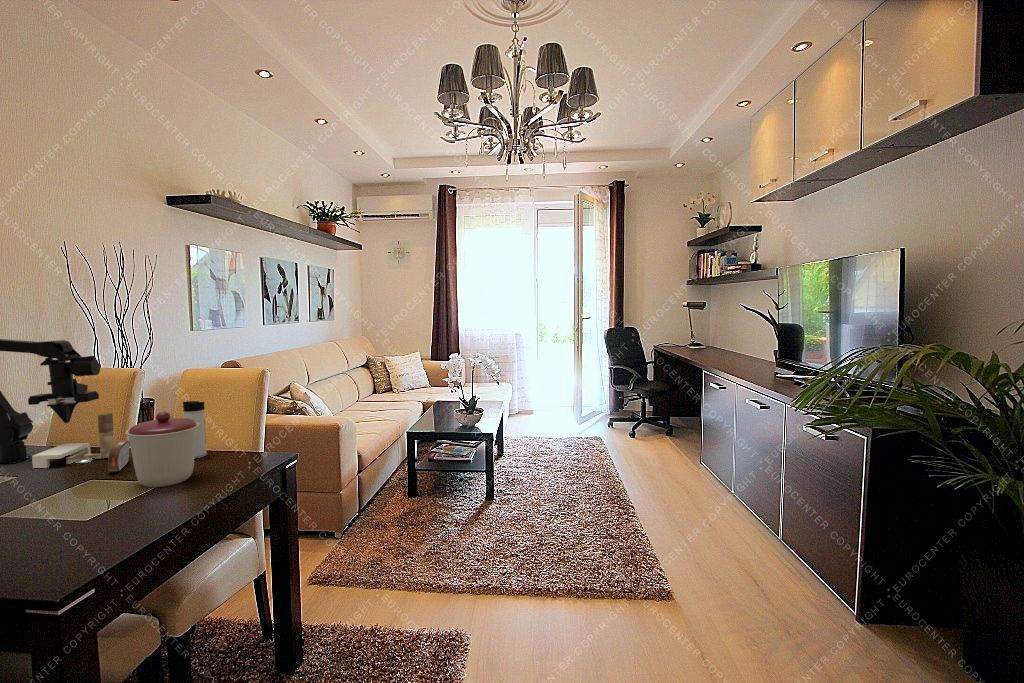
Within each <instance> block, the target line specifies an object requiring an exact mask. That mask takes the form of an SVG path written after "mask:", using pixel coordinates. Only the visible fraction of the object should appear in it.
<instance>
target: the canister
mask: <svg viewBox="0 0 1024 683" xmlns="http://www.w3.org/2000/svg"><path fill="white" fill-rule="evenodd" d="M155 418H156V419H153V420H147V421H143V422H139V423H137V424H135V425H133V426H131V427H130V428H129V429H127V430H125V433H124V434H125V435H126V436H128V441H129V442H130V453H131V457H132V462H133V467H134V471H135V475H136V479H137V480H138V482H139V484H140V485H141V486H143V487H147V488H161V487H162V488H163V487H168V486H172V485H177V484H180V483H182V482H185V481H186V480H187V479H189V478H190V477H191V476H192V475H193V472H194V467H195V460H194V459H195V448H196V436H197V428H198V427H199V425H200V424H199V423H198V422H195V421H194V420H191V419H186V418H184V417H171V414H170V413H169V412H167V411H160V412H158V413H157V414H156V415H155Z"/></svg>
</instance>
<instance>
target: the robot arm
mask: <svg viewBox="0 0 1024 683" xmlns="http://www.w3.org/2000/svg"><path fill="white" fill-rule="evenodd" d="M0 352H8V353H9V352H10V353H11V352H12V353H23V354H33V355H37V356H40V357H43V358H45V359H44V361H42V362H40V366H42V367H43V366H48V371H49V378H50V381H48V382H47V386H50V387H51V392H49V393H39V394H35V395H31V396H29V398H28V399H27V403H28V406H32V405H39V404H41V403H42V402H44V403H45V402H48V404H46V407H49V408H50V409H51V410H52V411H54V412H55V413H56V415H57V416H58V417H59V419H61V421H62V422H63V423H64V424H68V423H70V422H71V418H72V415H73V413H74V410H75V408H76V406H77V405H78V404H79V403H87V402H88V403H89V402H92V401H95V400H99V399H100V395H99V393H98V392H97V391H96V390H92V391H88V387H89V385H88V384H83V383H78V380H77V379H76V378H74V377H73V375H74V376H75V377H90V376H98V375H99V374H100V372H101V364H100V362H99V360H97V359H96V355H88V356H87V355H86V356H83V355H81V354H80V353H78V351H77V350H76V349H74V347H73V345H72V343H71V342H70V341H68V340H64V339H63V340H62V339H60V340H48V341H47V340H46V341H33V340H31V341H29V340H21V339H20V340H18V339H7V338H0ZM33 423H34V421H33V420H32V419H31V418H30V417H29V415H28V413H27V412H25V411H24V412H22V413H21V412H17V410H15V409H14V408H13V406H12V405H11V404H10V403H9V401H8V399H7V398H6V397H5V395H4V394H3V392H2V391H1V390H0V463H8V464H15V463H14V462H16V463H18V462H17V461H19V460H22V459H24V458H26V457H27V446H26V445H25V441H26V440H27V439H28V437H29V435H30V434H31V433H32V431H33V429H34V425H33ZM24 460H25V459H24ZM22 461H23V460H22ZM19 462H20V461H19Z"/></svg>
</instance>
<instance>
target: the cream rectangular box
mask: <svg viewBox="0 0 1024 683" xmlns="http://www.w3.org/2000/svg"><path fill="white" fill-rule="evenodd" d="M82 451H87V454H92V452H91V442H74V443H73V442H72V443H71V442H70V443H62V444H59V445H57V446H55V447H51V448H49V449H47V450H44V451H41V452H39V453H38V452H37V453H35V454H33V455H31V459H32V460H31V462H32V469H33V468H47V467H49V466H50V465H51V464H50V460H57V459H58V460H59V459H63V458H66V457H65V456H68V455H75V454H78V453H80V452H82ZM50 467H51V466H50Z"/></svg>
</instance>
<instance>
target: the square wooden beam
mask: <svg viewBox="0 0 1024 683" xmlns="http://www.w3.org/2000/svg"><path fill="white" fill-rule="evenodd" d="M97 423H98V434H99V448H100V449H99V451H100V453H91V454H87V451H82V452H80V453H78V454H75V455H73V456H70V457H65V458H66V460H65V461H66V462H65V463H66V465H67V464H71V463H73V462H75V461H76V460H78V459H82V458H95V459H101V460H103V459H104V458H108V456H109V452H110V449H111V447H112V446H113V445H114V444H115V442H114V418H113V412H110V413H109V412H105V413H101V414H97ZM102 458H103V459H102ZM71 465H72V464H71Z"/></svg>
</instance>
